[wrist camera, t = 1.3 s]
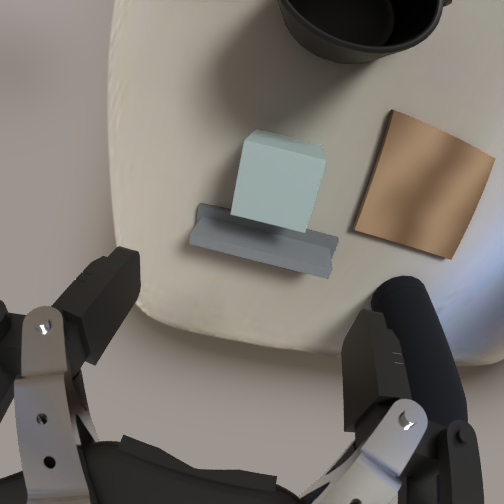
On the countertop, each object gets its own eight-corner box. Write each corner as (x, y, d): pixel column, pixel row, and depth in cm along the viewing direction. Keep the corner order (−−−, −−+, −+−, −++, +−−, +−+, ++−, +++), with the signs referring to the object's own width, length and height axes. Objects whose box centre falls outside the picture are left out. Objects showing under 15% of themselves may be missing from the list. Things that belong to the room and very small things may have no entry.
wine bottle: (384, 269, 28) (427, 613, 3) (435, 281, 28) (507, 575, 3) (362, 316, 32) (368, 609, 6) (410, 324, 31) (444, 588, 6)
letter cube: (321, 144, 23) (326, 160, 19) (304, 206, 27) (304, 235, 22) (256, 128, 24) (244, 140, 19) (243, 191, 27) (229, 217, 22)
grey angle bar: (337, 237, 27) (341, 260, 24) (327, 263, 29) (329, 289, 26) (200, 203, 28) (185, 221, 24) (196, 230, 29) (182, 252, 26)
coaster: (490, 156, 20) (495, 158, 20) (448, 255, 26) (451, 259, 25) (391, 109, 21) (394, 110, 20) (353, 226, 27) (354, 230, 26)
